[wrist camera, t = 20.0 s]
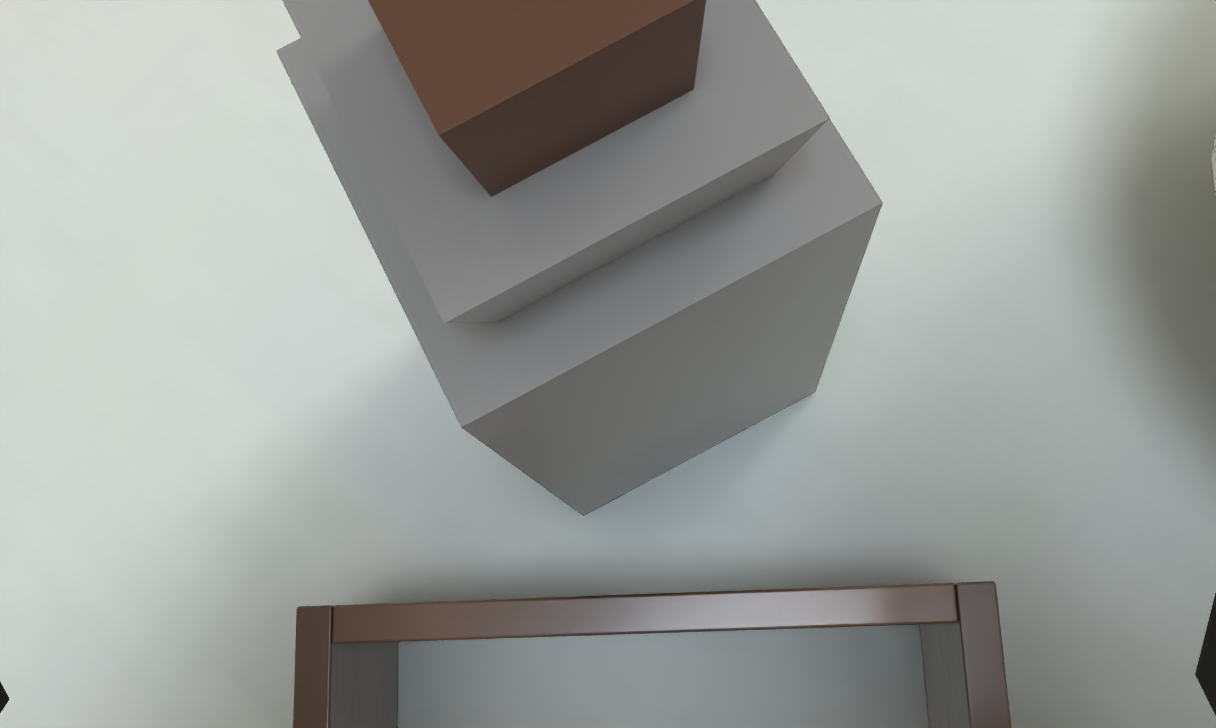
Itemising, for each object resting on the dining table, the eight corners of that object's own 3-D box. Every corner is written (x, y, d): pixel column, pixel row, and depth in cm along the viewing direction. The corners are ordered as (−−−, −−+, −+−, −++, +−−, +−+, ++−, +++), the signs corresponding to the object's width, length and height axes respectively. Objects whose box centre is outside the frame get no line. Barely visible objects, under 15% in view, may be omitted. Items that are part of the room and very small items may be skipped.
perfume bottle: (690, 178, 31) (634, -405, 13) (815, 392, 29) (938, 45, 12) (470, 294, 31) (126, -137, 13) (583, 515, 29) (359, 353, 12)
